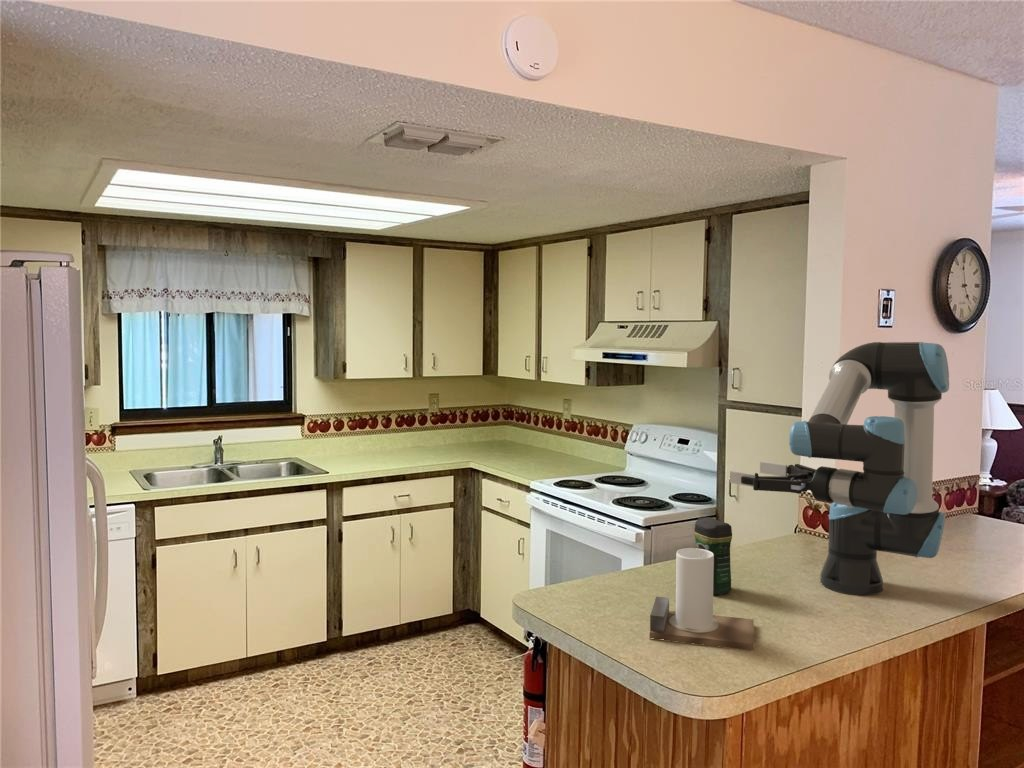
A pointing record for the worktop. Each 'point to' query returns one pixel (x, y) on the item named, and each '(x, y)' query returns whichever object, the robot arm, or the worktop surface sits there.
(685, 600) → the cup
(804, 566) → the worktop surface
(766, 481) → the robot arm
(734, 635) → the board
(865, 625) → the worktop surface
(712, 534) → the coffee jar
